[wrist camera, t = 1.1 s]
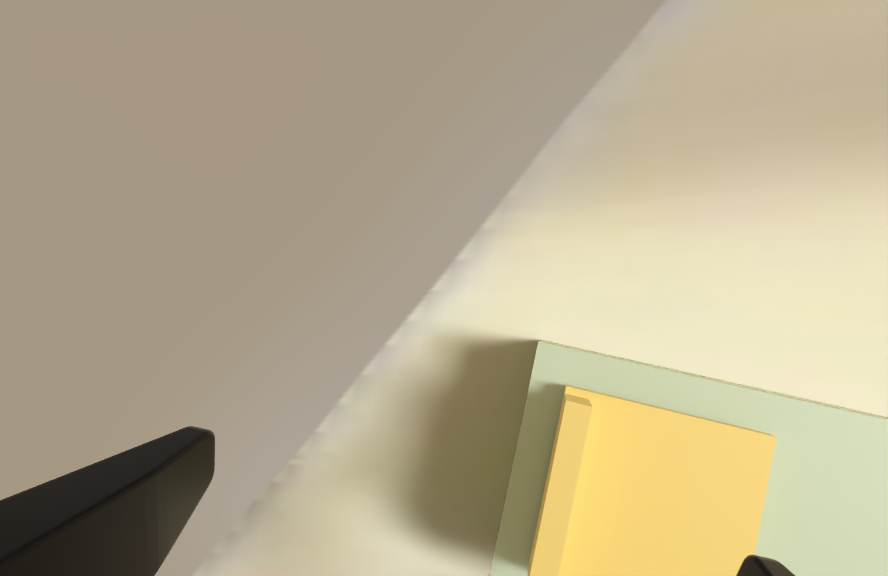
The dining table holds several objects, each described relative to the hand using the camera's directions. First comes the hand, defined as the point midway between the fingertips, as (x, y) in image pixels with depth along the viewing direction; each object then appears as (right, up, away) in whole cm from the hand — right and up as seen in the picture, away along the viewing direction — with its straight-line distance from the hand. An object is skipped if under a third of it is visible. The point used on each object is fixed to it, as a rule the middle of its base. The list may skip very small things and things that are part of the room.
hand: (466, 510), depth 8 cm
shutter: (+6, -4, +8) cm, 11 cm away
